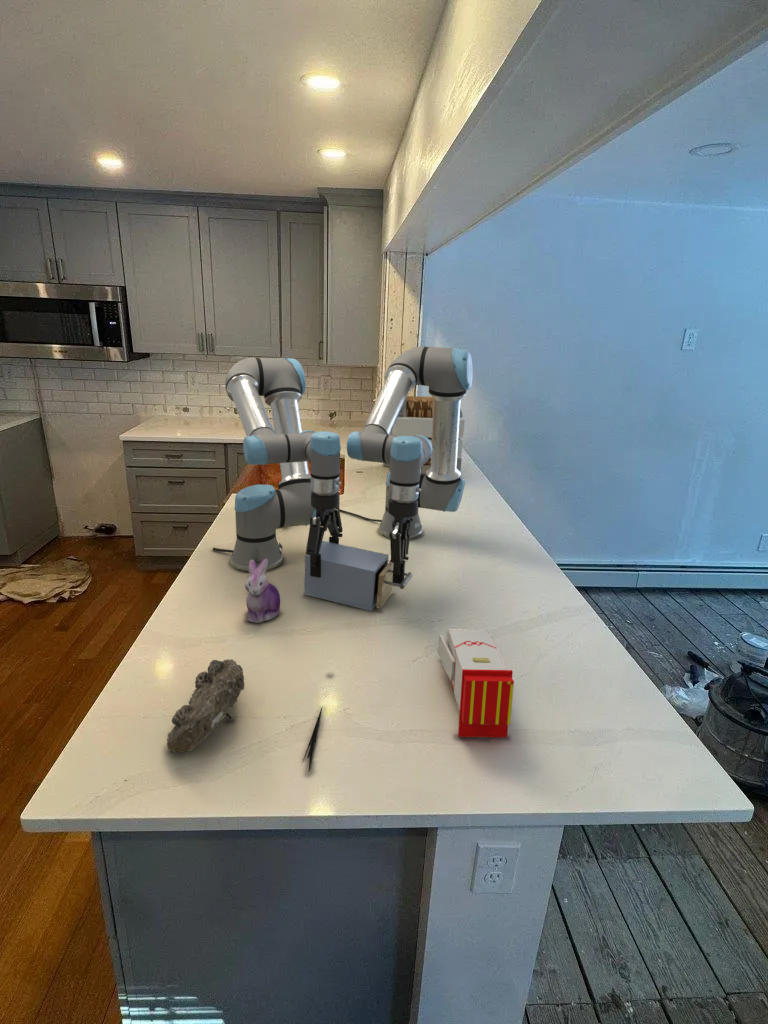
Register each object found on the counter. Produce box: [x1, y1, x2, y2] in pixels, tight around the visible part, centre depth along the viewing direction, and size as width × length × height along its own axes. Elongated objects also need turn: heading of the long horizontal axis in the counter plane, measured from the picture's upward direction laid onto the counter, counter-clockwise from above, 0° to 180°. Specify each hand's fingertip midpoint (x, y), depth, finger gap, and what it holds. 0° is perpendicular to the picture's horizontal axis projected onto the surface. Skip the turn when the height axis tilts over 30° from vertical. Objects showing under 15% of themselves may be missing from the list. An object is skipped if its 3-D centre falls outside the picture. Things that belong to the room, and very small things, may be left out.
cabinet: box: [303, 540, 390, 611], centre depth 154 cm, size 20×11×12 cm, turn 71°
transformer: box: [382, 395, 465, 474], centre depth 268 cm, size 34×33×41 cm
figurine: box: [244, 559, 282, 624], centre depth 141 cm, size 9×10×15 cm
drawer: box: [374, 560, 414, 609], centre depth 153 cm, size 24×10×10 cm, turn 71°
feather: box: [301, 673, 332, 771], centre depth 108 cm, size 2×28×2 cm
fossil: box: [166, 658, 245, 754], centre depth 106 cm, size 22×10×15 cm
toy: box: [437, 628, 515, 738], centre depth 117 cm, size 12×13×30 cm
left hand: (325, 567), depth 156 cm, fingers closed on cabinet, 11 cm apart
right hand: (398, 583), depth 150 cm, fingers closed
